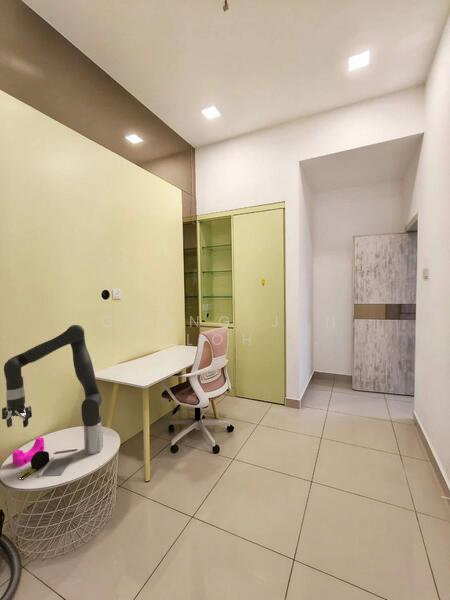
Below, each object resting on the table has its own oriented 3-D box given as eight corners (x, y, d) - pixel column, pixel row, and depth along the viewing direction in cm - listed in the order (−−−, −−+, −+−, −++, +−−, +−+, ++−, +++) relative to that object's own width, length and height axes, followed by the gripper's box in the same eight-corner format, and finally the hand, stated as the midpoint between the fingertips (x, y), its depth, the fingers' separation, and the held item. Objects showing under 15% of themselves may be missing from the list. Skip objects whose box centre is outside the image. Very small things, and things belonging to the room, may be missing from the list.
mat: (72, 457, 148) (72, 455, 148) (61, 475, 135) (60, 472, 135) (52, 459, 147) (52, 457, 147) (38, 477, 133) (38, 474, 133)
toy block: (21, 468, 141) (20, 454, 141) (12, 465, 143) (12, 452, 142) (47, 451, 155) (47, 438, 155) (39, 449, 157) (38, 437, 157)
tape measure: (44, 461, 146) (43, 447, 145) (50, 463, 145) (49, 448, 144) (17, 480, 132) (16, 464, 131) (23, 481, 131) (22, 466, 130)
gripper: (34, 393, 142) (36, 422, 143) (8, 393, 142) (10, 422, 143) (23, 399, 134) (25, 430, 135) (-4, 399, 135) (-2, 430, 136)
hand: (17, 426), depth 139 cm, fingers open, 8 cm apart
